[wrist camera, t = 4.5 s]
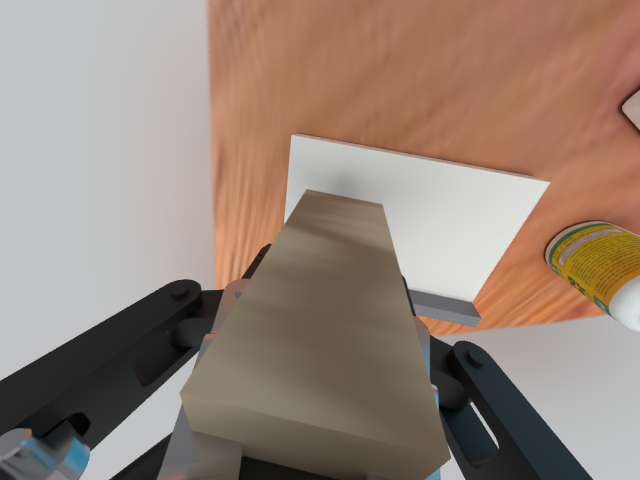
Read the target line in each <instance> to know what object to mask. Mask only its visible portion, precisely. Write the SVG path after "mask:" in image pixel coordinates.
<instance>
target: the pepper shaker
mask: <svg viewBox="0 0 640 480" xmlns="http://www.w3.org/2000/svg"><path fill="white" fill-rule="evenodd" d="M622 110H623V112H624V113H625V114H626V115H627V117H628V118H629V119H630V120H631V121H632V122H633V123H634V124H635V125H636V127H637V128H638V129H639V130H640V90H639V91H638V92H637V93H635V94H634V95H633V96H632V97H630V98H629V99H628V100H627V101H626V102H625V103H624V105H623V106H622Z"/></svg>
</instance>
